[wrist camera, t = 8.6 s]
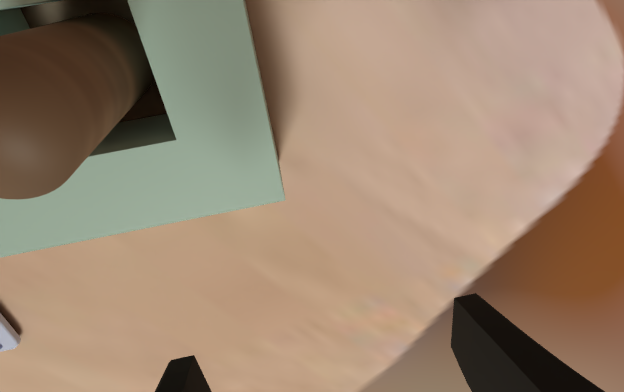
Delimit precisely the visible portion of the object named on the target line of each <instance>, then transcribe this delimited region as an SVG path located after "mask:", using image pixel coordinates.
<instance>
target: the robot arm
mask: <svg viewBox="0 0 624 392" xmlns="http://www.w3.org/2000/svg"><path fill="white" fill-rule="evenodd" d="M452 324H453V325H452V338H451V348H452V350H453V352H454V355H455V357H456V359H457V361H458V364H459V366H460V368H461V370H462V373H463V375H464V377H465V379H466V381H467V383H468V385H469V387H470V389H471V391H472V392H605V391H603V390H602V389H600V388H598V387H597V386H596V385H594V384H593V383H591V382H590V381H589V380H587V379H586V378H584V377H583V376H581V375H580V374H579V373H577V372H576V371H574V370H573V369H572V368H570V367H569V366H567V365H566V364H565V363H563V362H562V361H561V360H559V359H558V358H557V357H555V356H554V355H553V354H551V353H550V352H549V351H547V350H546V349H545V348H543V347H542V346H541V345H540V344H538V343H537V342H536V341H534V340H533V339H532V338H530V337H529V336H528V335H527V334H525V333H524V332H523V331H522V330H520V329H519V328H518V327H516V326H515V325H514V324H513V323H511V322H510V321H509V320H508V319H507V318H505V317H504V316H503V315H502V314H500V313H499V312H498V311H497V310H496V309H494V308H493V307H492V306H491V305H490V304H488V303H487V302H486V301H485V300H484V299H482V298H481V297H480V296H479V295H477V294H476V293H475V294H471V295H466V296H461V297H457V298H454V309H453V323H452ZM20 341H21V338H20V336H19V335H18V334H17V333H16V331H15V330H14V329H13V328H12V326H11V325H10V324H9V323H8V322H7V320H6V319H5V318H4V317H3V316H2V314H1V313H0V352H1V351H6V350H10V349H14V348H16V347H17V346H18V344H19V343H20ZM155 392H211V390H210V388H209V385H208V383H207V381H206V379H205V377H204V375H203V373H202V371H201V369H200V367H199V365H198V363H197V360H196V358H195V356H194V355H193V356H188V357H183V358H179V359H174V360H171V361H170V362H169V364H168V366H167V368H166V370H165V372H164V374H163V376H162V378H161V380H160V382H159V384H158V386H157V388H156V390H155Z"/></svg>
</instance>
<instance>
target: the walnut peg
mask: <svg viewBox="0 0 624 392" xmlns="http://www.w3.org/2000/svg"><path fill="white" fill-rule="evenodd" d="M153 80H154V75H153V72H152V69H151V66H150V63H149V60H148V58H147V55H146V52H145V49H144V46H143V43H142V41H141V38H140V35H139V32H138V29H137V27H136V26H135V25H134V24H132V23H131V22H129V21H128V20H126V19H124V18H122V17H119V16H117V15H113V14H109V13H94V14H89V15H85V16H81V17H77V18H73V19H68V20H64V21H60V22H56V23H52V24H48V25H44V26H39V27H35V28H31V29H27V30H23V31H19V32H15V33H10V34H6V35H2V36H0V198H1V199H17V200H19V199H30V198H35V197H39V196H42V195H45V194H48V193H50V192H52V191H54V190H56V189H57V188H59V187H60V186H62V185H63V184H64V183H65V182H66V181H67V180H68V179H69V178H70V177H71V175H72V174H73V173H74V172H75V171H76V170H77V169H78V167H79V166H80V165H81V164H82V163H83V162H84V161H85V160H86V158H87V157H88V156H89V155H90V154H91V153H92V152H93V151H94V149H95V148H96V147H97V146H98V145H99V144H100V143H101V141H102V140H103V139H104V138H105V137H106V136H107V135H108V134H109V132H110V131H111V130H112V129H113V128H114V127H115V126H116V125H117V123H118V122H119V121H120V120H121V119H122V118H123V117H124V115H125V114H126V113H127V112H128V111H129V110H130V109H131V108H132V106H133V105H134V104H135V103H136V102H137V101H138V100H139V98H140V97H141V96H142V95H143V94H144V93H145V92H146V91H147V89H148V88H149V87H150V86H151V84H152V82H153Z"/></svg>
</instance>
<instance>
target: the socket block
mask: <svg viewBox="0 0 624 392" xmlns="http://www.w3.org/2000/svg"><path fill="white" fill-rule="evenodd" d="M57 1H63V0H0V36H2V35H6V34H10V33H15V32H19V31H23V30H27V29H30V27H29V25H28V23H27V21H26V19H25V17H24V15H23V13H22V11H21V9H20V8H21V7H27V6H33V5H39V4H45V3H51V2H57ZM127 1H128V4H129V7H130V10H131V12H132V15H133V18H134V21H135V24H136V27H137V29H138V32H139V35H140V38H141V41H142V43H143V46H144V49H145V52H146V55H147V58H148V60H149V63H150V66H151V69H152V72H153V75H154V77H155V80H156V83H157V86H158V89H159V92H160V94H161V97H162V100H163V103H164V106H165V109H166V111H167V114H163V115H157V116H152V117H147V118H141V119H136V120H130V121H125V122H120V123H117V125H116V126H115V127H114V128H113V129H112V130H111V131H110V132H109V134H108V135H107V136H106V137H105V138H104V139H103V140H102V141H101V143H100V144H99V145H98V146H97V147H96V148H95V149H94V151H93V152H92V153H91V154H90V155H89V156H88V157H87V158H86V160H85V161H84V162H83V163H82V164H81V165H80V166H79V167H78V169H77V170H76V171H75V172H74V173H73V174H72V175H71V177H70V178H69V179H68V180H67V181H66V182H65V183H64V184H63V185H62V186H60V187H59V188H57V189H56V190H54V191H52V192H50V193H48V194H45V195H42V196H39V197H35V198H30V199H19V200H17V199H1V198H0V257H5V256H10V255H15V254H20V253H25V252H30V251H35V250H40V249H45V248H50V247H55V246H60V245H65V244H70V243H75V242H80V241H85V240H90V239H95V238H100V237H105V236H110V235H115V234H120V233H125V232H130V231H135V230H140V229H145V228H150V227H155V226H160V225H165V224H170V223H175V222H180V221H185V220H190V219H195V218H200V217H205V216H210V215H215V214H220V213H225V212H230V211H234V210H239V209H244V208H249V207H254V206H259V205H264V204H269V203H274V202H279V201H284V200H285V195H284V189H283V183H282V177H281V171H280V165H279V160H278V155H277V150H276V146H275V141H274V136H273V131H272V127H271V122H270V117H269V112H268V108H267V103H266V98H265V93H264V89H263V84H262V79H261V74H260V69H259V65H258V60H257V55H256V50H255V46H254V41H253V36H252V31H251V27H250V22H249V17H248V12H247V8H246V3H245V0H127Z"/></svg>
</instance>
